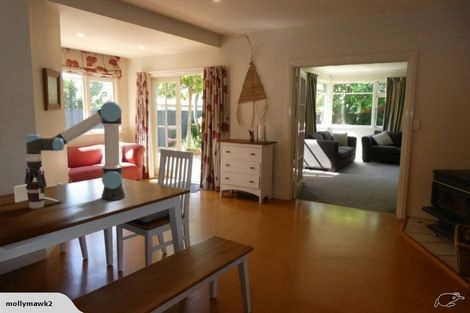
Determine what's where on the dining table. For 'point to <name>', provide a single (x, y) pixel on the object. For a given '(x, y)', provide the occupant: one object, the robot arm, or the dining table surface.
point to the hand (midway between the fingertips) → (36, 197)
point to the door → (20, 193)
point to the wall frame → (58, 192)
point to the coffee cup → (34, 195)
